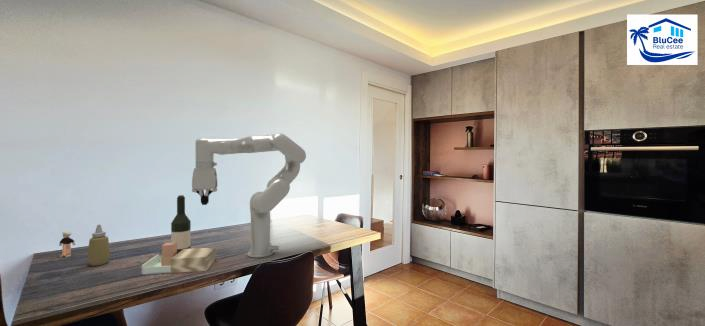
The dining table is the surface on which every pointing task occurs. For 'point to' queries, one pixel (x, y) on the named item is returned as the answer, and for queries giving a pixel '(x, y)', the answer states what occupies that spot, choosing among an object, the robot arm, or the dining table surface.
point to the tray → (155, 266)
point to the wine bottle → (181, 227)
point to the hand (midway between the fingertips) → (204, 204)
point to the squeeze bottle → (98, 248)
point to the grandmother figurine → (66, 244)
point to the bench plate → (193, 260)
